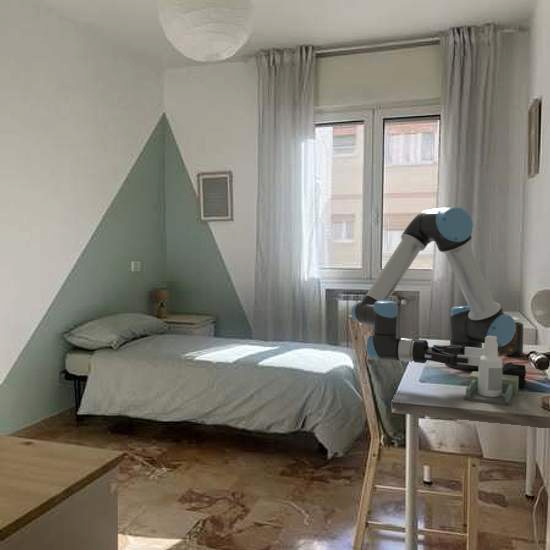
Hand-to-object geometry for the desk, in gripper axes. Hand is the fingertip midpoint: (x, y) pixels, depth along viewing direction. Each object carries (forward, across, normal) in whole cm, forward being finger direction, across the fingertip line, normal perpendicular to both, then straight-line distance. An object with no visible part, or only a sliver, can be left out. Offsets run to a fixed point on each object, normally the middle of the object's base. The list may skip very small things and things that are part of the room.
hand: (483, 357), depth 168 cm
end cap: (+7, -19, -13) cm, 24 cm away
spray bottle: (+2, 0, -12) cm, 12 cm away
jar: (+1, -74, -12) cm, 75 cm away
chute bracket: (+2, -4, -12) cm, 13 cm away
